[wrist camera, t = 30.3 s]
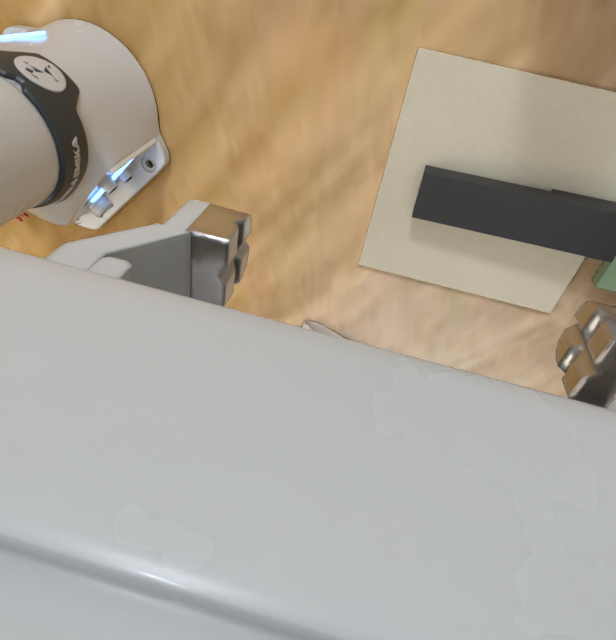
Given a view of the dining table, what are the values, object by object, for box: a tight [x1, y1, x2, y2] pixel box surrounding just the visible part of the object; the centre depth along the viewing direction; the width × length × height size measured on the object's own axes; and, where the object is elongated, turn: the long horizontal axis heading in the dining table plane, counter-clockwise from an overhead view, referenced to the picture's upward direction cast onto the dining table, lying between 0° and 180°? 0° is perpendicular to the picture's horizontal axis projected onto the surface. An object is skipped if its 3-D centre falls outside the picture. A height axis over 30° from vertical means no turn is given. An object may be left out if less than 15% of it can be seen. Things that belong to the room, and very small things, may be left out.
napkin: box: [359, 47, 616, 313], centre depth 46 cm, size 22×22×1 cm
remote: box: [412, 165, 616, 262], centre depth 45 cm, size 19×5×3 cm, turn 83°
